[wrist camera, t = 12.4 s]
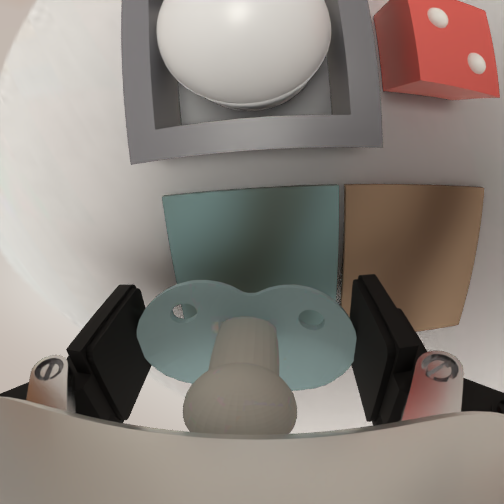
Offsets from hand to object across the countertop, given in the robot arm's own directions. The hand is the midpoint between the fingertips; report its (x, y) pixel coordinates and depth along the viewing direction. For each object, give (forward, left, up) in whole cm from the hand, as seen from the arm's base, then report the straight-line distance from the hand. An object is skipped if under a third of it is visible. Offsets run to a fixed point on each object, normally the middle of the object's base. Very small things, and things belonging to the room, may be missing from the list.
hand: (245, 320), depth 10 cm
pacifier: (0, +1, -1) cm, 2 cm away
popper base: (-3, -10, -4) cm, 11 cm away
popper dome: (-1, -10, -3) cm, 10 cm away
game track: (-8, 0, -4) cm, 8 cm away
